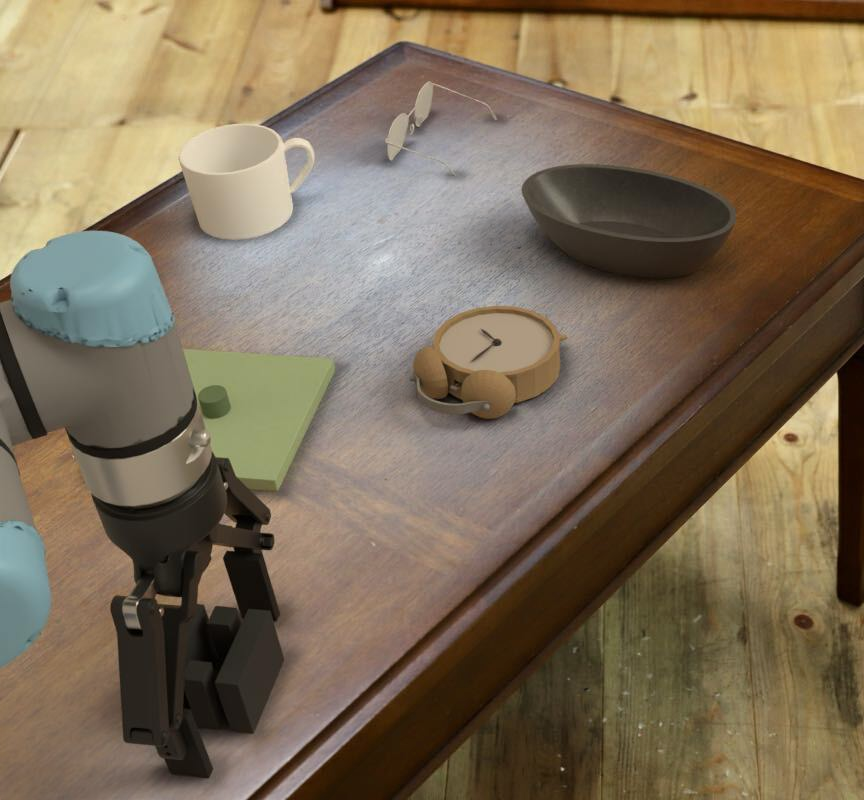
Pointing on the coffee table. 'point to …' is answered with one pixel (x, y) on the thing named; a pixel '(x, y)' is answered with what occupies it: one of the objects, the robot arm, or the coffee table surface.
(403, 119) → the sunglasses
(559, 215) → the bowl
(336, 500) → the coffee table surface
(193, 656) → the black slotted block
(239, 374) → the sage mat
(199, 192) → the mug
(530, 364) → the alarm clock
